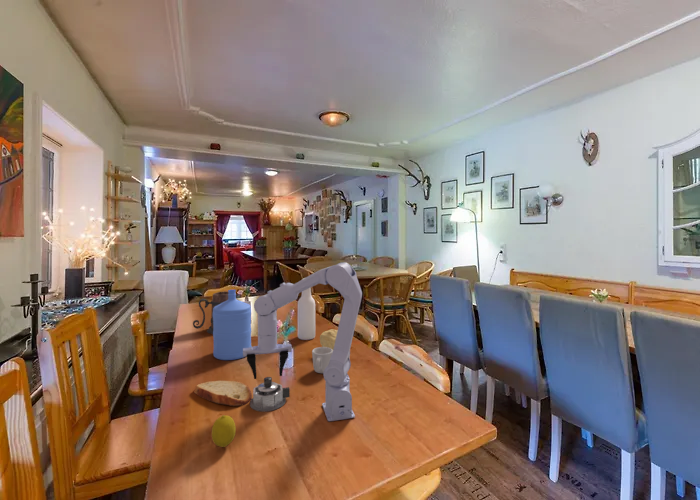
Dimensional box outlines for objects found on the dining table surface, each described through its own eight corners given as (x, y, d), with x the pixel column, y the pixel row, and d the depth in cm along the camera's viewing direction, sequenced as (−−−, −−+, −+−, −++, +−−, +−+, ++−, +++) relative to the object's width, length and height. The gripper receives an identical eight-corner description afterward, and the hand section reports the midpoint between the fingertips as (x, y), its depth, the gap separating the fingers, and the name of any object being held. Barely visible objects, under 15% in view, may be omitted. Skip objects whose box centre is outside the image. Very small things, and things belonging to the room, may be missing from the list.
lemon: (238, 439, 83) (238, 409, 83) (231, 454, 78) (231, 421, 77) (216, 439, 83) (216, 409, 83) (208, 454, 78) (207, 422, 77)
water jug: (253, 357, 137) (252, 292, 135) (212, 363, 131) (211, 294, 130) (250, 345, 151) (249, 286, 150) (213, 350, 146) (212, 288, 144)
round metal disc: (287, 408, 98) (287, 407, 98) (249, 414, 95) (249, 412, 95) (284, 391, 108) (284, 390, 108) (250, 395, 106) (250, 394, 106)
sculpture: (315, 353, 142) (315, 329, 142) (337, 347, 150) (337, 324, 150) (332, 361, 134) (332, 335, 133) (353, 354, 142) (353, 329, 141)
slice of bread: (194, 388, 111) (194, 377, 111) (249, 380, 117) (249, 370, 117) (187, 416, 94) (187, 404, 94) (252, 405, 100) (252, 393, 100)
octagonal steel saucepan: (290, 405, 99) (290, 393, 99) (253, 410, 96) (252, 398, 96) (288, 391, 108) (288, 380, 107) (253, 395, 105) (253, 384, 105)
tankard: (237, 323, 188) (237, 289, 187) (242, 331, 173) (241, 294, 172) (192, 328, 177) (191, 292, 176) (193, 337, 162) (192, 298, 161)
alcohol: (296, 335, 167) (296, 277, 165) (313, 334, 169) (313, 276, 168) (298, 341, 158) (298, 280, 157) (316, 339, 161) (316, 279, 159)
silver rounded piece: (279, 402, 99) (279, 382, 99) (257, 405, 98) (256, 384, 97) (278, 392, 106) (278, 373, 105) (257, 395, 104) (257, 375, 104)
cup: (327, 379, 117) (327, 358, 117) (306, 377, 119) (306, 356, 118) (335, 367, 128) (335, 347, 127) (315, 365, 129) (315, 346, 129)
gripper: (290, 327, 106) (290, 368, 107) (243, 331, 102) (244, 373, 103) (292, 334, 99) (292, 377, 100) (242, 338, 96) (243, 383, 96)
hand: (268, 376), depth 101 cm, fingers open, 7 cm apart
